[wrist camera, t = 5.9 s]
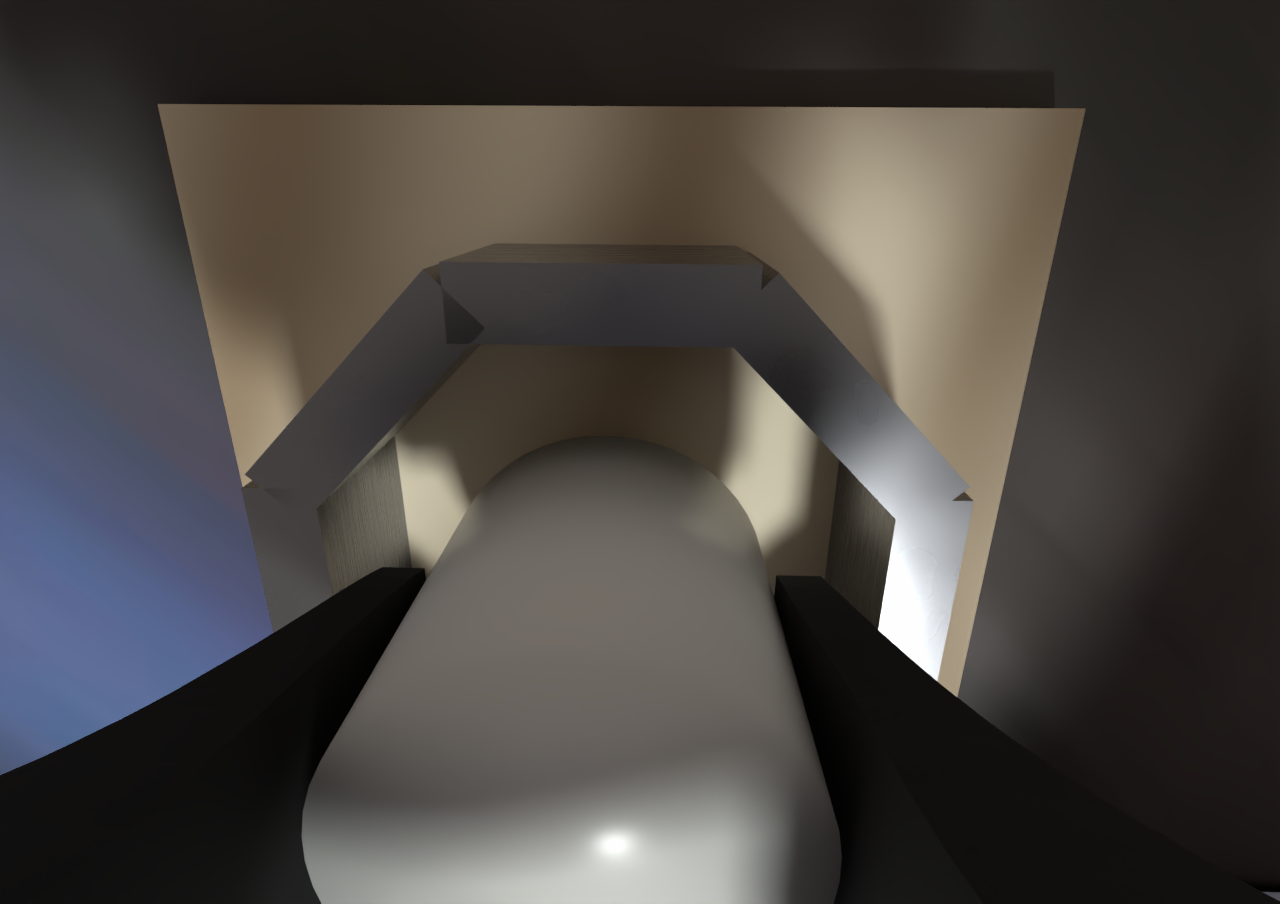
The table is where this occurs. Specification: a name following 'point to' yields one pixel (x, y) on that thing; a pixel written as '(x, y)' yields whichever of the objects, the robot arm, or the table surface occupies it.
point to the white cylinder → (582, 708)
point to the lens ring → (608, 316)
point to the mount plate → (638, 215)
